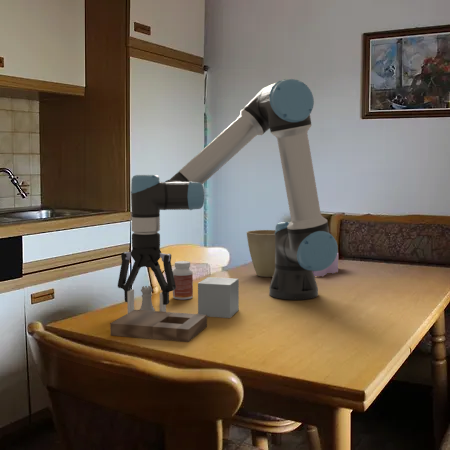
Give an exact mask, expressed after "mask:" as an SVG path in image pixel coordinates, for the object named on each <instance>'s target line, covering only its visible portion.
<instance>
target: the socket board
mask: <svg viewBox="0 0 450 450" xmlns="http://www.w3.org/2000/svg"><path fill="white" fill-rule="evenodd" d="M109 327H110V336H114V337H126V338H138V339H150V340H151V339H152V340H162V341H176V342H183V343H184V342H186V343H189V342H190V341H192V340H193V339H194V338H195V337H196V336H198V333H199V334H200V333H201V332H202V331H203V330H204V329H206V328H207V327H208V316H207V315H202V314H198V313H188V312H187V313H186V312H171V311H166V312H160V310H159V311H157V310H155V311H145V310H139V309H134V310H133V311H131V312H129V313H128V312H127V313H126V314H124V315H122V316H121V317H119V318H117V319H115V320H114V321H112V322H110V325H109ZM191 339H192V340H191Z"/></svg>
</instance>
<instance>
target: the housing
mask: <svg viewBox="0 0 450 450" xmlns="http://www.w3.org/2000/svg"><path fill="white" fill-rule="evenodd" d="M239 286H240V285H239V278H232V277H231V278H230V277H216V276H215V277H210V276H207V277H206V278H204V279H203V280H201V281H199V282H197V314H202V315H207V318H208V317H209V318H210V317H211V318H224V319H230V318H232V317H233V316H234V315H235V314H236V313H238V311H239V307H240V306H239V304H240V302H239V301H240V300H239V299H240V296H239V294H240V293H239V292H240V291H239V288H240V287H239Z"/></svg>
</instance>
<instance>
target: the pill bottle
mask: <svg viewBox="0 0 450 450" xmlns="http://www.w3.org/2000/svg"><path fill="white" fill-rule="evenodd" d="M174 267H175V269H172V271H173V276H174V281H175V285H176V289H175V290H173V291H172V298H173V299H175V300H183V301H184V300H190V299H192V298H193V297H194V286H193V285H194V282H193V281H194V279H193V278H194V277H193V274H194V273H193V270H192V269H191V268H190V267H191V261H187V260H185V261H184V260H180V261H175V262H174Z"/></svg>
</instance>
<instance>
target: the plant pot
mask: <svg viewBox="0 0 450 450" xmlns="http://www.w3.org/2000/svg"><path fill="white" fill-rule="evenodd" d="M246 239H247V247H248V251H249V254H250V258H251V261H252V262H251V263H252V265H253V269H254V270H255V271H254V272H255V274H256V276H258V277H263V278H264V277H265V278H271V277H272V278H273V275H274V272H275V229H255V230H249V231H246Z"/></svg>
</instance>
